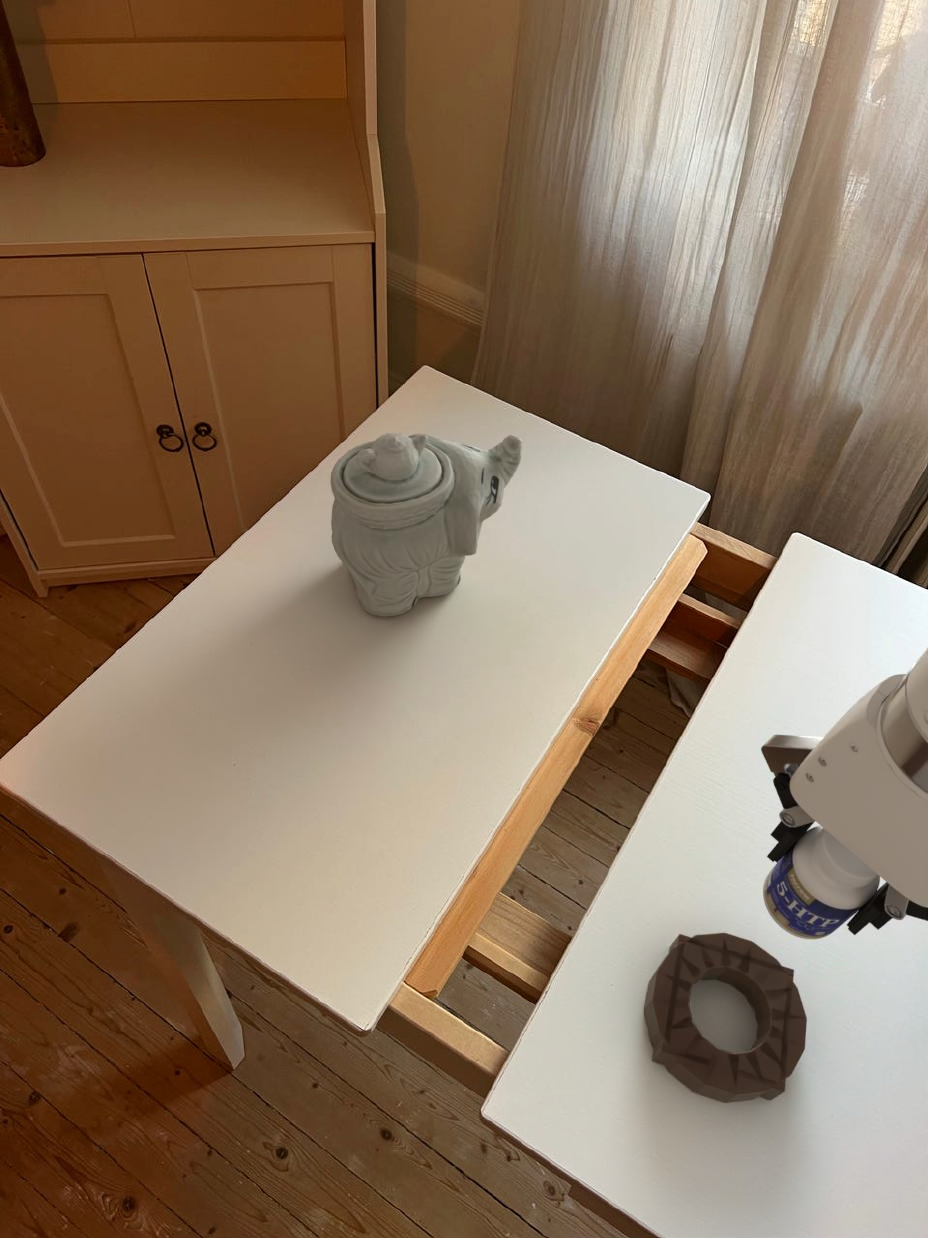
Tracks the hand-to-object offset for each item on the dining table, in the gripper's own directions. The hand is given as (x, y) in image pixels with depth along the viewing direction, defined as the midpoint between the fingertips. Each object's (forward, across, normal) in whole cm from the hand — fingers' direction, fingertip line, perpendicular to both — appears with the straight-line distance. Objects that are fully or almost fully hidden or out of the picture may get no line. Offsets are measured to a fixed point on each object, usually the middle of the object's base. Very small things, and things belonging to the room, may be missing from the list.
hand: (823, 879), depth 60 cm
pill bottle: (+4, 0, 0) cm, 4 cm away
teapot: (+20, +47, -9) cm, 52 cm away
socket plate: (+20, -2, +3) cm, 20 cm away
